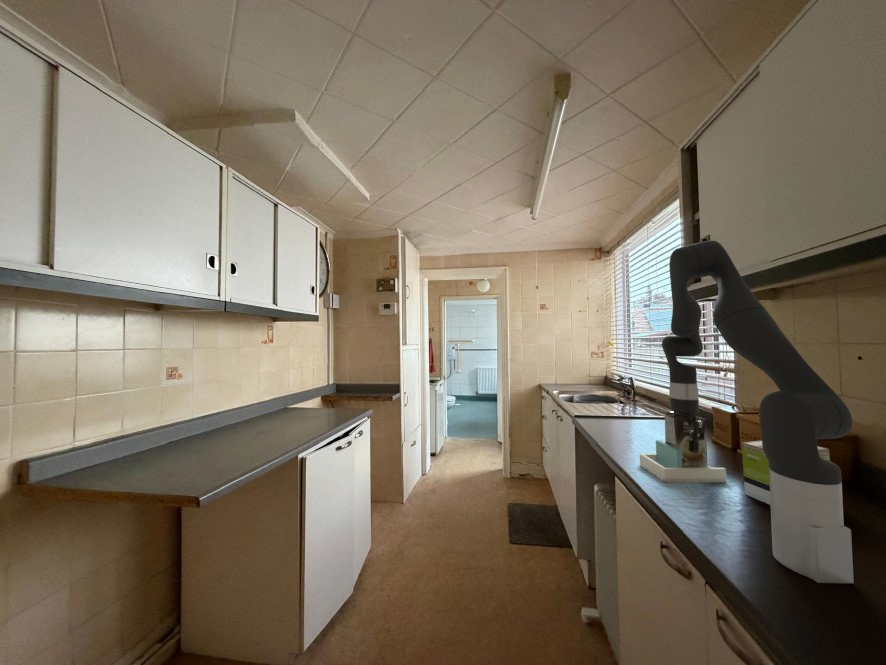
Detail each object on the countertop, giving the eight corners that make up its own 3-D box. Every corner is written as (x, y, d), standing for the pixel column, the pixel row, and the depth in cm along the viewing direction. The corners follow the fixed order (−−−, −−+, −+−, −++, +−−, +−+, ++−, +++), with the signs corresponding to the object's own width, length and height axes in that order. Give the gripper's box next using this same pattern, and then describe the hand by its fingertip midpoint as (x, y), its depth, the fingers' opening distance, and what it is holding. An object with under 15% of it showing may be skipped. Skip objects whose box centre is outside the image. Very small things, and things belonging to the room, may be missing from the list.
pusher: (682, 476, 97) (681, 450, 97) (677, 476, 97) (676, 450, 97) (661, 463, 108) (660, 440, 108) (656, 463, 108) (655, 440, 108)
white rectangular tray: (726, 482, 95) (725, 468, 95) (664, 482, 96) (664, 469, 96) (694, 465, 108) (693, 453, 108) (640, 465, 109) (639, 453, 109)
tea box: (786, 489, 91) (784, 437, 91) (835, 507, 81) (832, 448, 81) (742, 494, 88) (740, 440, 89) (786, 513, 78) (784, 453, 79)
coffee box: (677, 470, 99) (675, 418, 100) (665, 462, 106) (663, 414, 106) (709, 470, 99) (706, 418, 99) (694, 462, 105) (692, 414, 105)
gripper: (713, 400, 95) (715, 456, 95) (680, 392, 110) (681, 441, 109) (687, 401, 96) (690, 456, 95) (657, 393, 110) (659, 441, 110)
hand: (685, 448), depth 102 cm, fingers closed on coffee box, 6 cm apart
